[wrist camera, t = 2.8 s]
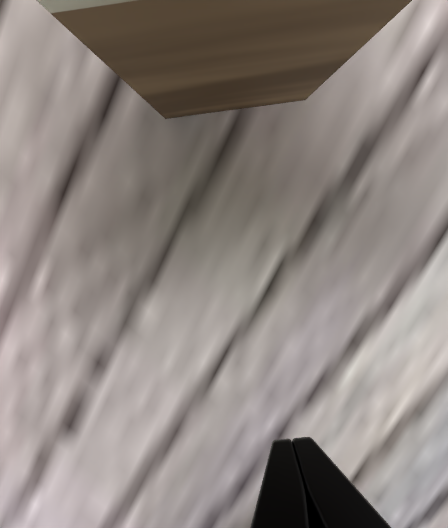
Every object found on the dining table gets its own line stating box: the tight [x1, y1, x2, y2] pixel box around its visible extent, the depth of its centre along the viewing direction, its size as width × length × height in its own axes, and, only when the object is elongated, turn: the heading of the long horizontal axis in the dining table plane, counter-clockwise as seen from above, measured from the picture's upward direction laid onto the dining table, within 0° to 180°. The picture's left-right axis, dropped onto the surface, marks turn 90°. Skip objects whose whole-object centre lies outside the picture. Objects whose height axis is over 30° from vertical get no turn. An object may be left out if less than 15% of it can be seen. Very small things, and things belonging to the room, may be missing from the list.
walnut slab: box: [37, 0, 412, 119], centre depth 10 cm, size 4×7×12 cm, turn 97°
